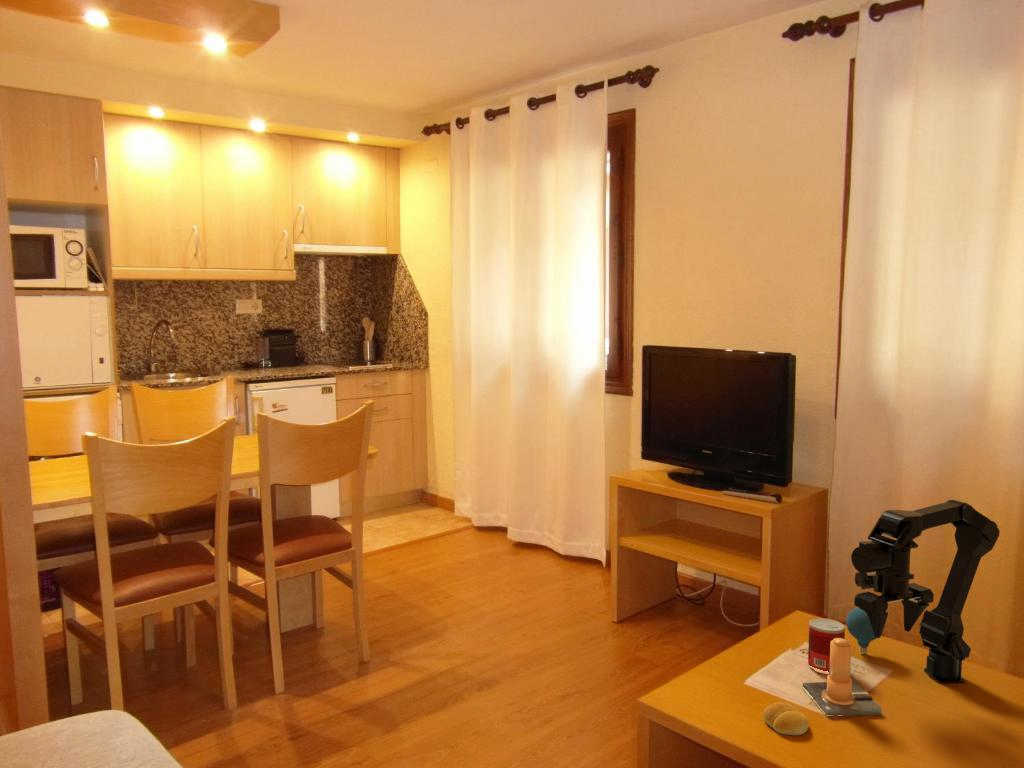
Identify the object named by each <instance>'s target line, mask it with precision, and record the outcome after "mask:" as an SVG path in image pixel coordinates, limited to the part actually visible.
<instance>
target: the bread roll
mask: <svg viewBox="0 0 1024 768" xmlns="http://www.w3.org/2000/svg"><path fill="white" fill-rule="evenodd" d="M763 719H764V721H765V723H766V724H767V725H768V726H769V727H771V728H773V730H774V731H775V732H776V733H779V734H781V735H786V736H788V735H789V736H800V735H803V734H806V732H807V731H808V729H809V720H808V718H807V715H805V713H803V712H801V711H798V710H797V709H796V707H794V706H792V705H791V704H790V703H788V702H784V701H779V702H777V701H776V702H773V703H772V704H770V705H768V706H767V707H766V708H765V709H764V711H763Z"/></svg>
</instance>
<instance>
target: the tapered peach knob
mask: <svg viewBox="0 0 1024 768" xmlns="http://www.w3.org/2000/svg"><path fill="white" fill-rule="evenodd" d="M851 663H852V644H851V643H850V641H849V640H847V639H842V638H835V639H833V640H832V641H831V643H830V671H829V675H827V678H826V679H827V681H826V682H827V696H828V697H829V698H830V699H832V700H835V701H839V702H848V701H850V700H851V695H852V682H853V679H852V678H851V668H852V667H851Z"/></svg>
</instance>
